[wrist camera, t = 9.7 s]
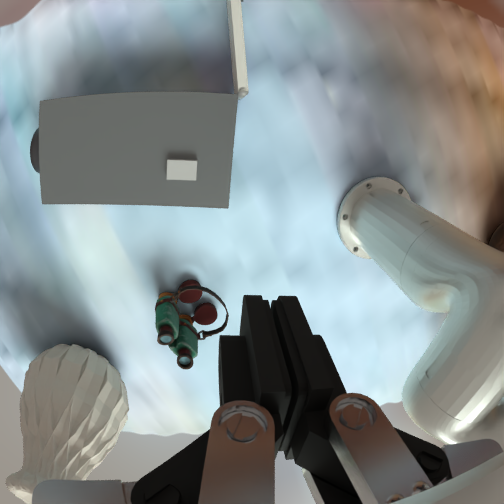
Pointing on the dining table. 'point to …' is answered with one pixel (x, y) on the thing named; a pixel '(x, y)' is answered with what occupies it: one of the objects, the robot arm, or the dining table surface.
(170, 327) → the binoculars
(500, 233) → the wooden sphere
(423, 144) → the dining table surface
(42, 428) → the vase
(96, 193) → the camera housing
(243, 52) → the side door
